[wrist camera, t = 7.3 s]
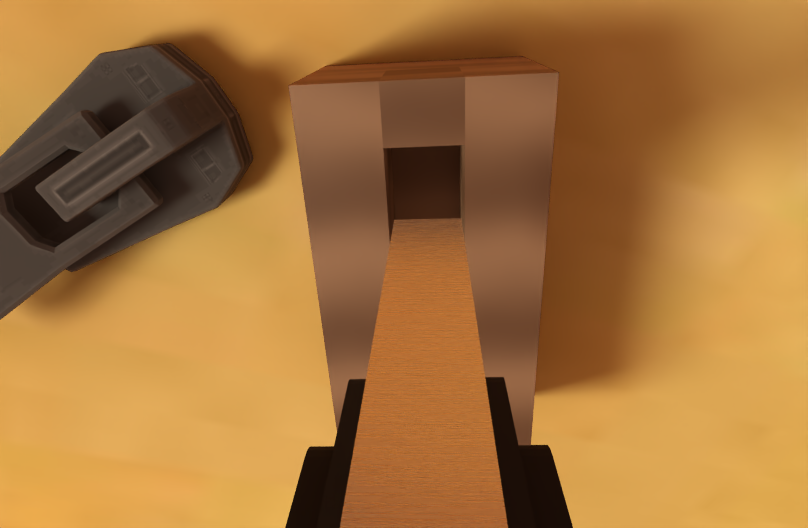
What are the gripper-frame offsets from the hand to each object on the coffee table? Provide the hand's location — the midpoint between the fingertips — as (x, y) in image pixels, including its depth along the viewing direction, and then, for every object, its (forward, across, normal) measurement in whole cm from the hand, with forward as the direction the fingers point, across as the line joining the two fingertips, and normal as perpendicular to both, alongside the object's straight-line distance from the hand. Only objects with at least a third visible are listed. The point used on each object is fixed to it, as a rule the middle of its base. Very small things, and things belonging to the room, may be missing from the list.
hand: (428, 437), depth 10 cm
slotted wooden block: (+20, 0, +5) cm, 21 cm away
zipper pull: (+21, +22, +1) cm, 30 cm away
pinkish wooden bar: (+7, 0, 0) cm, 7 cm away
